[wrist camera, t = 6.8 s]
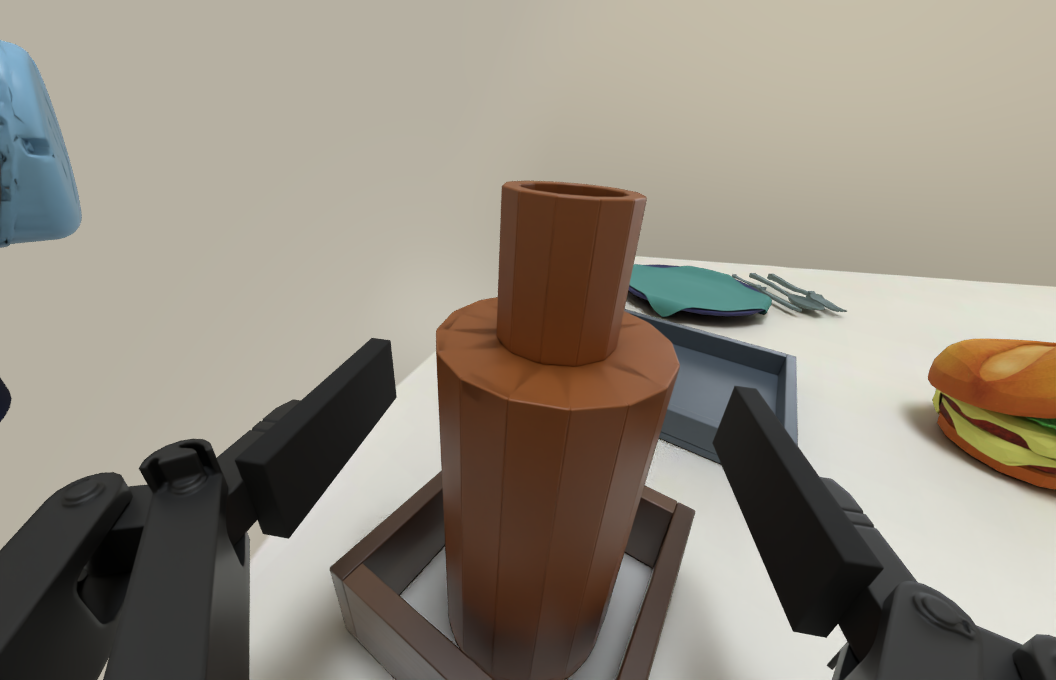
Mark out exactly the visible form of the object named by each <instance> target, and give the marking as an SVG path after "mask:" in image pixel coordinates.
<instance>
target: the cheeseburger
mask: <svg viewBox="0 0 1056 680" xmlns="http://www.w3.org/2000/svg"><path fill="white" fill-rule="evenodd" d="M928 380H929V382H930V383H931V385H932V386H934V387H935V388H936V392H935V395H934V397H933V399H932V401H933V404H934V407H935V410H936V412H937V413H938V414H939V413H940V414H939V418H938V422H937V423H938V425H939V426H940V428H941V429H942V431H943V432H944V434H945V435H946V436H947V437H948V438H949V439H951V440H952V441H953V442H954V443H955V444H957V445H958V446H959V447H960V448H962V449H963V450H964V451H965V452H967V453H968V454H969V455H971V456H973V457H974V458H976V459H978V460H980V461H981V462H983V463H985V464H987V465H988V466H990V467H992V468H994V469H995V470H997V471H999V472H1001V473H1004V474H1006V475H1009V476H1012V477H1015V478H1017V479H1020V480H1023V481H1025V482H1028V483H1031V484H1033V485H1036V486H1039V487H1044V488H1050V489H1055V490H1056V343H1050V342H1040V341H1027V340H1010V339H970V340H964V341H961V342H958V343H955V344H952V345H950V346H948V347H947V348H946V349H945V350H943V351H942V352H941V353H940V354H939V355H938V356H937V357H936V358H935V359H934V361H933V364H932V366H931V368H930V371H929V374H928Z"/></svg>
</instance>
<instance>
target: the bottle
mask: <svg viewBox="0 0 1056 680" xmlns="http://www.w3.org/2000/svg"><path fill="white" fill-rule="evenodd" d="M646 201H647V198H646V197H645V196H644V195H642V194H640V193H638V192H633V191H628V190H623V189H618V188H611V187H603V186H596V185H588V184H578V183H564V182H550V181H512V182H506V183H505V184H504V185H503V186H502V200H501V225H500V252H499V280H498V297H496V298H490V299H485V300H480V301H477V302H475V303H473V304H470V305H468V306H465V307H463V308H461V309H459V310H456V311H454V312H453V313H452V314H451V315H450V316H449V317H448V318H447V319H446V320H445V321H444V322H443V323H442V324H441V325H440V326H439V327H438V329H437V331H436V356H437V378H438V400H439V421H440V443H441V464H442V486H443V508H444V529H445V551H446V572H447V594H448V616H449V619H450V623H451V628H452V631H453V634H454V637H455V639H456V642H457V644H458V646H459V647H460V649H461V651H462V652H464V653H465V654H466V655H467V656H468V657H469V658H470V659H472V660H473V661H474V662H475V663H476V664H477V665H478V666H479V667H481V668H482V669H483V670H484V671H485V672H486V673H487V674H489V675H490V676H491V677H492V678H493V679H494V680H564V679H566V678H567V677H569V676H570V675H571V674H573V673H574V672H575V671H576V670H577V669H578V668H579V667H580V666H581V665H582V664H583V663H584V662H585V660H586V659H587V657H588V656H589V654H590V653H591V651H592V649H593V647H594V645H595V643H596V640H597V637H598V634H599V631H600V629H601V626H602V624H603V621H604V618H605V615H606V612H607V608H608V605H609V602H610V598H611V595H612V592H613V588H614V585H615V582H616V578H617V575H618V572H619V568H620V565H621V562H622V558H623V555H624V552H625V548H626V545H627V542H628V538H629V535H630V532H631V528H632V525H633V522H634V518H635V515H636V512H637V508H638V505H639V502H640V498H641V495H642V492H643V488H644V485H645V482H646V478H647V475H648V472H649V468H650V465H651V462H652V458H653V455H654V452H655V448H656V445H657V442H658V438H659V435H660V432H661V428H662V425H663V422H664V418H665V415H666V412H667V408H668V405H669V402H670V398H671V395H672V392H673V388H674V385H675V382H676V378H677V375H678V372H679V368H680V364H679V361H678V358H677V355H676V353H675V350H674V347H673V344H672V343H671V341H670V340H669V339H667V338H666V337H665V336H664V335H663V334H662V333H660V332H659V331H658V330H657V329H656V328H655V327H653V326H652V325H651V324H650V323H648V322H646V321H644V320H642V319H640V318H638V317H636V316H634V315H632V314H629V313H627V312H625V311H624V309H625V304H626V299H627V294H628V289H629V284H630V279H631V274H632V269H633V265H634V260H635V255H636V250H637V245H638V240H639V235H640V230H641V225H642V220H643V216H644V211H645V206H646Z"/></svg>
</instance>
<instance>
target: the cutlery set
mask: <svg viewBox="0 0 1056 680" xmlns="http://www.w3.org/2000/svg"><path fill="white" fill-rule="evenodd" d="M749 277H750V278H753V279H756V280H758V281H760V282H762V283H765V284H767V285H769V286H771V287H772V288H774V289H775V290H777V291H779V292H781V293H783V294H784V295H786V296H787V297H788V299H789V301H790V302H791V303H793V304H794V305H796V306H798V307H801V308H805V309H809V310H825V308H824V307H826V308H828V309H830V310H833V311H836V312H839V311H840V312H843V311H844V312H847V311H846V310H843V309H841V308H839V307H837V306H836V305H834V304H833V303H831V302H829V301H828V300H826V299H824V298H823V296H822V295H819V294H815V292H814V291H806V290H803V289H800V288H797V287H795V286H793V285H791V284H790V283H788V282H786V281H785V280H783V279H782V278H780V277H778V276H776V275H775V274H769V275H768V277H767V278H768V279H769V280H773V281H775V282H777V283H779V284H780V285H782V286H784V287H786V288H788V289H790V290H792V291H795V292H799V293H802V294H804V295H806V298H805V297H802V296H798V295H794V294H788V293H787V292H786V291H784V290H783V289H781V288H779V287H778V286H776V285H775V284H774V283H772V282H770V281H768V280H766V279H764V278H763V277H761V276H759V275H757V274H756V273H750V275H749ZM734 278H736V279H738V280H741V281H743V282H745V283H747V284H749V285H747V284H745V283H743V282H741V281H738V280H736V279H734ZM628 290H629V291H630V292H631V293H633V294H634V295H636V296H638V297H641V298H643V299H645V300H648V301H649V303H650V304H651V306H652V308H653V309H654V310H655V311H656V312H657V313H658V314H659V315H660V316H662V317H666V316H669V315H672V314H674V313H676V312H678V311H680V310H682V311H687V312H693V313H698V314H704V315H716V316H743V315H752V314H755V313H759V314H763V315H764V314H766V313H767V311H768V309H769V307H770V306H771V304H772V300H771V299H773V300H774V301H776V302H778V303H780V304H782V305H784V306H786V307H788V308H790V309H792V310H795V311H799V312H801V311H802V309H800V308H798V307H796V306H794V305H792V304H791V303H789V302H787V301H785V300H783V299H781V298H779V297H777V296H775V295H773V294H771V293H769V292H767V291H765V290H766V287H761V285H755V284H752V283H750V282H748V281H745V280H743V279H741V278H740V277H738V276H736V274H733V275H732V277H731V276H730V275H728V274H724V273H720V272H716V271H713V270H708V269H704V268H698V267H693V266H681V267H680V266H669V265H637V264H635V265H633V269H632V274H631V279H630V284H629V289H628Z"/></svg>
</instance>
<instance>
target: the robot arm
mask: <svg viewBox="0 0 1056 680" xmlns="http://www.w3.org/2000/svg"><path fill="white" fill-rule="evenodd" d="M81 216H82V215H81V207H80V201H79V196H78V191H77V187H76V183H75V179H74V175H73V171H72V167H71V164H70V160H69V156H68V153H67V150H66V147H65V143H64V140H63V136H62V133H61V130H60V127H59V124H58V121H57V118H56V115H55V112H54V109H53V106H52V103H51V100H50V97H49V95H48V92H47V89H46V87H45V84H44V81H43V79H42V77H41V75H40V72H39V70H38V68H37V66H36V64H35V62H34V61H33V60H32V58H31V57H30V56H29V54H28V52H26V51H25V50H24V49H22V48H21V47H19V46H17V45H16V44H12V43H9V42H5V41H1V40H0V247H7V246H9V245H10V244H15V243H25V242H34V241H45V240H55V239H61V238H65V237H67V236H69V235H71V234H73V233H74V232H75V231H76V230H77V229H78V227H79V226H80V223H81V218H82V217H81ZM395 399H396V388H395V379H394V369H393V360H392V352H391V342H390V340H384V339H376V338H371V339H370V340H369V341H368V342H367V343H366V344H365V345H364V346H362V347H361V348H360V349H359V350H358V351H357V352H356V353H354V354H353V355H352V356H351V357H350V358H349V359H348V360H346V361H345V362H344V363H343V364H342V365H341V366H340V367H339V368H338V369H336V370H335V371H334V372H333V373H332V374H331V375H329V376H328V377H327V378H326V379H325V380H324V381H323V382H322V383H320V385H318V386H317V387H316V388H315V389H314V390H313V391H311V392H310V393H309V394H308V395H307V396H306V397H305V398H303V399H302V400H301V401H299V400H291V401H289V402H287V403H285V404H283V405H281V406H279V407H277V408H276V409H275V410H273V411H272V412H271V413H270V414H268V415H267V416H266V417H265V418H264V419H263V421H260V422H259V423H258V424H256V425H255V426H254V427H253V428H252V430H249V431H248V432H247V433H246V434H245V435H243V436H242V437H241V438H240V439H239V440H237V441H236V442H235V443H234V444H233V445H231V446H230V447H229V448H228V449H227V450H225V451H224V452H223V453H222V454H221V455H219V456H218V457H217V458H216V456H215V453H214V451H213V448H212V446H211V444H210V443H209V442H208V441H206V440H203V439H189V440H183V441H179V442H176V443H173V444H170V445H167V446H165V447H163V448H161V449H159V450H157V451H155V452H154V453H152V454H151V455H150V456H149V457H147V458H146V459H145V460H144V461H143V463H142V464H141V466H140V467H139V469H140V471H141V473H142V475H143V477H144V479H145V480H146V482H147V484H148V485H140V486H130V487H128V486H127V484H126V483H125V481H124V479H123V477H122V476H121V475H120V474H116V473H114V472H112V473H99V474H95V475H91V476H87V477H84V478H82V479H79V480H77V481H75V482H72V483H70V484H68V485H67V486H65V487H63V488H62V489H60V490H58V491H56V492H55V493H54V494H53V495H52V496H51V497H49V498H48V499H47V500H46V501H45V502H44V503H43V504H42V506H40V508H39V509H38V510H37V511H36V512H35V513H34V514H33V515H32V516H31V517H30V518H29V520H28V521H27V522H26V523H25V524H24V525H23V526H22V527H21V528H20V529H19V531H18V532H17V533H16V534H15V535H14V536H13V537H12V538H11V539H10V540H9V541H8V543H7V544H6V545H5V546H4V547H3V548H2V549H1V550H0V680H97V679H98V677H99V676H100V674H101V672H102V670H103V668H104V666H105V664H106V662H107V660H108V658H109V660H108V664H107V668H106V671H105V675H104V679H103V680H249V602H250V539H249V536H248V533H247V531H248V530H249V528H250V527H251V526H252V525H253V524H254V523H255V522H256V521H257V520H258V522H259V525H260V527H261V530H262V532H263V534H267V535H272V536H278V537H283V538H288V539H289V538H290V537H291V535H292V534H293V533H294V531H295V530H296V529H297V527H298V526H299V525H300V523H301V522H302V521H303V519H304V518H305V517H306V516H307V514H308V513H309V512H310V510H311V509H312V508H313V506H314V505H315V504H316V502H317V501H318V500H319V498H320V497H321V496H322V495H323V493H324V492H325V491H326V489H327V488H328V487H329V485H330V484H331V483H332V481H333V480H334V479H335V477H336V476H337V475H338V473H339V472H340V471H341V470H342V468H343V467H344V466H345V464H346V463H347V462H348V460H349V459H350V458H351V456H352V455H353V454H354V452H355V451H356V450H357V449H358V447H359V446H360V445H361V443H362V442H363V441H364V439H365V438H366V437H367V435H368V434H369V433H370V431H371V430H372V429H373V428H374V426H375V425H376V424H377V422H378V421H379V420H380V418H381V417H382V416H383V414H384V413H385V412H386V410H387V409H388V408H389V407H390V405H391V404H392V403H393V401H394V400H395ZM712 444H713V446H714V448H715V451H716V453H717V455H718V458H719V460H720V462H721V465H722V467H723V469H724V472H725V474H726V476H727V479H728V481H729V483H730V486H731V488H732V490H733V493H734V495H735V497H736V500H737V502H738V504H739V507H740V509H741V511H742V514H743V516H744V518H745V521H746V523H747V525H748V528H749V530H750V532H751V535H752V537H753V539H754V542H755V544H756V546H757V549H758V551H759V553H760V556H761V558H762V560H763V563H764V565H765V567H766V570H767V572H768V574H769V577H770V579H771V581H772V584H773V586H774V588H775V591H776V593H777V595H778V598H779V600H780V602H781V605H782V607H783V609H784V612H785V614H786V616H787V619H788V621H789V623H790V626H791V628H792V630H793V632H799V633H804V634H809V635H815V636H820V637H826V638H827V636H828V635H829V634H830V633H831V632H832V630H833V629H834V628H835V627H836V625H837V624H839V626H840V628H841V630H842V632H843V634H844V636H845V638H846V639H847V641H848V642H847V643H846V644H845V645H844V646H843V647H842V648H841V649H840V651H839V652H838V653H837V654H836V655H835V656H834V657H833V658H832V660H831V661H830V662H829V663H828V665H827V666H828V667H829V668H831V669H832V670H833V668H834V667H835V666H836V668H835V671H834V675H833V678H832V680H1056V637H1053V636H1050V635H1038V634H1036V635H1035V636H1034V637H1033V638H1031V639H1030V640H1029V641H1027V642H1026V643H1025V644H1023V645H1022V644H1019V643H1017V642H1015V641H1012V640H1010V639H1007V638H1005V637H1003V636H1000V635H998V634H995V633H993V632H991V631H988V630H986V629H984V628H981V627H979V626H976V625H975V623H974V622H973V621H972V619H971V618H970V617H969V616H968V615H967V614H966V613H965V612H964V611H963V610H962V609H961V608H960V607H959V606H958V605H957V604H956V603H955V602H953V601H952V600H950V599H949V598H947V597H946V596H945V595H943V594H942V593H940V592H939V591H937V590H935V589H933V588H931V587H928V586H926V585H924V584H921V583H918V582H917V581H916V580H915V578H914V577H913V576H912V574H911V573H910V572H909V570H908V569H907V568H906V566H905V565H904V564H903V563H902V561H901V560H900V559H899V557H898V556H897V555H896V553H895V552H894V551H893V549H892V548H891V547H890V546H889V544H888V543H887V542H886V540H885V539H884V538H883V536H882V535H881V534H880V532H879V531H878V530H877V529H876V528H874V525H873V523H872V522H871V521H870V519H869V518H868V517H867V515H866V514H863V510H862V509H861V508H860V506H859V505H858V504H857V502H856V501H855V500H854V498H853V497H852V496H851V495H850V494H849V493H848V492H847V491H846V490H845V489H843V488H842V487H841V486H840V485H839V484H837V483H836V482H835V481H834V480H833V479H830V478H823V477H819V476H818V474H817V473H816V471H815V470H814V469H813V467H812V466H811V464H810V463H809V462H808V460H807V459H806V457H805V456H804V455H803V453H802V452H801V450H800V449H799V448H798V446H797V445H796V443H795V442H794V441H793V439H792V438H791V436H790V435H789V434H788V432H787V431H786V429H785V428H784V426H783V425H782V424H781V422H780V421H779V419H778V418H777V417H776V415H775V414H774V412H773V411H772V410H771V408H770V407H769V405H768V404H767V403H766V401H765V400H764V398H763V397H762V396H761V394H760V393H759V391H758V390H757V389H756V388H749V387H741V386H734V388H733V391H732V394H731V396H730V399H729V401H728V404H727V406H726V409H725V412H724V414H723V417H722V419H721V422H720V424H719V427H718V430H717V432H716V435H715V437H714V440H713V442H712Z"/></svg>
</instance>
